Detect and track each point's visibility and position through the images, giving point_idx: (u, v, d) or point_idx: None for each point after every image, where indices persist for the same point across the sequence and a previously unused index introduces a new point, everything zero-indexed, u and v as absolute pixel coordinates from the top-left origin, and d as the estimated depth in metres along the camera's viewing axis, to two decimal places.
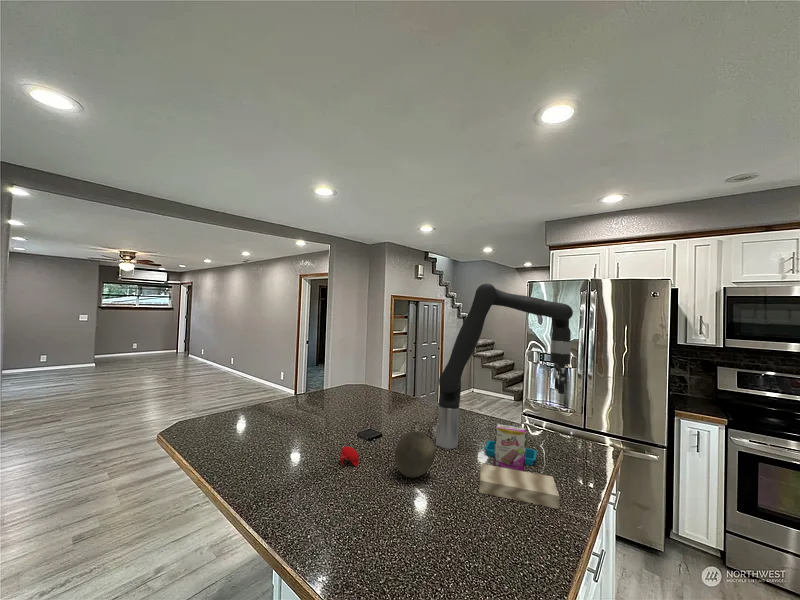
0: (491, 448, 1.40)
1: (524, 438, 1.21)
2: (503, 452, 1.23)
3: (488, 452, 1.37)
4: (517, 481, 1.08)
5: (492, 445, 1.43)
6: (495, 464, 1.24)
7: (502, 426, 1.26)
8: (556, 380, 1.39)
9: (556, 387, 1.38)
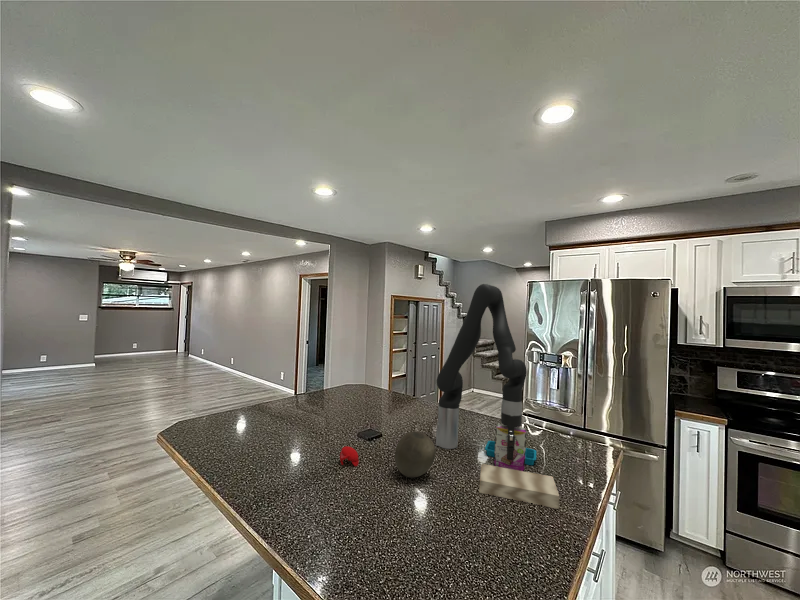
0: (491, 448, 1.40)
1: (524, 438, 1.21)
2: (503, 452, 1.23)
3: (488, 452, 1.37)
4: (517, 481, 1.08)
5: (492, 445, 1.43)
6: (495, 464, 1.24)
7: (502, 426, 1.26)
8: None
9: None
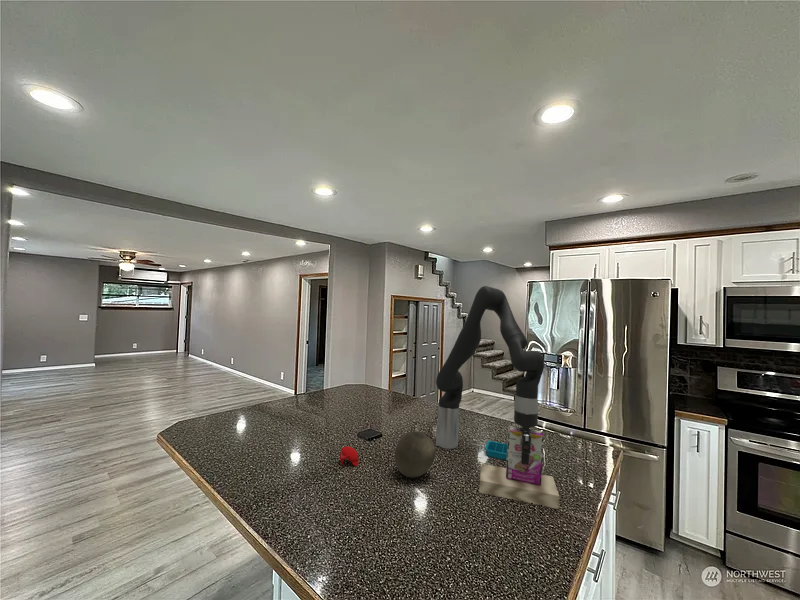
0: (491, 449, 1.40)
1: (541, 442, 1.07)
2: (517, 458, 1.08)
3: (489, 453, 1.37)
4: (517, 481, 1.08)
5: (492, 445, 1.43)
6: (508, 472, 1.09)
7: (515, 429, 1.11)
8: None
9: None
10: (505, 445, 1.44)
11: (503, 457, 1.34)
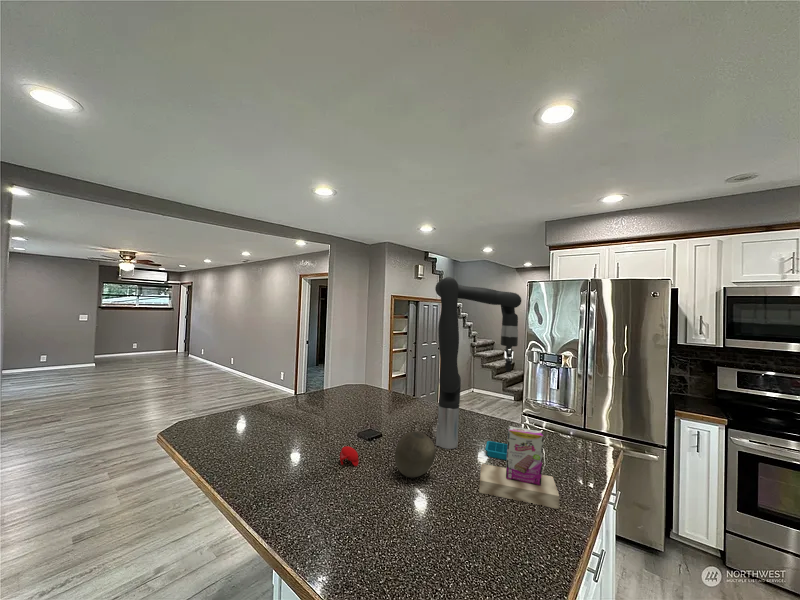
0: (491, 449, 1.39)
1: (541, 442, 1.07)
2: (517, 459, 1.08)
3: (489, 453, 1.36)
4: (517, 481, 1.08)
5: (491, 446, 1.42)
6: (508, 472, 1.09)
7: (515, 429, 1.11)
8: None
9: None
10: (505, 445, 1.44)
11: (503, 457, 1.34)
